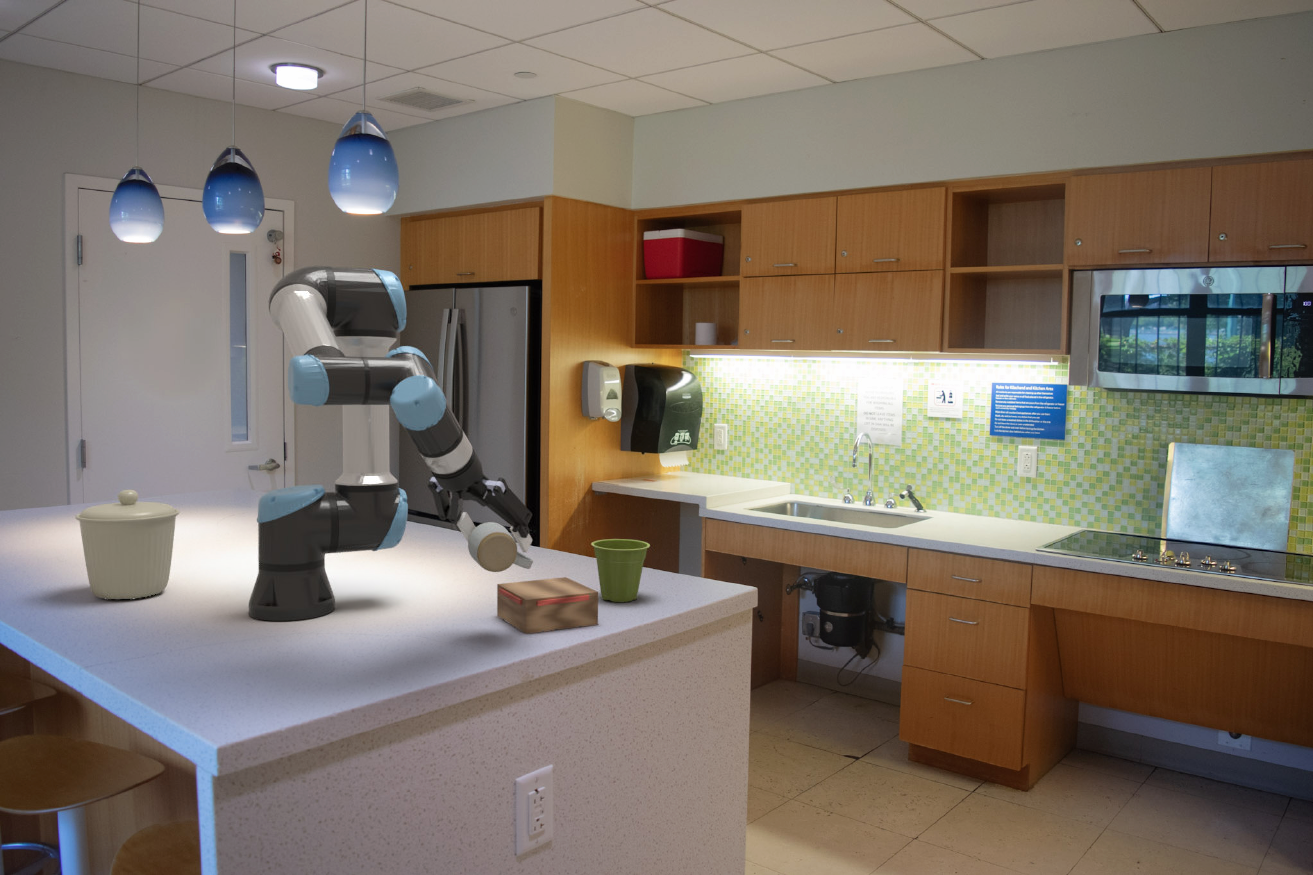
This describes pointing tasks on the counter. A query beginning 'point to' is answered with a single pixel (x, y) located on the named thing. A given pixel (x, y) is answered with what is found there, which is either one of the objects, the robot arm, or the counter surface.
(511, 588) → the wooden box
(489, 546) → the ceramic mug
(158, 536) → the canister
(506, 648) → the counter surface
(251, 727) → the counter surface
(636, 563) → the plant pot
